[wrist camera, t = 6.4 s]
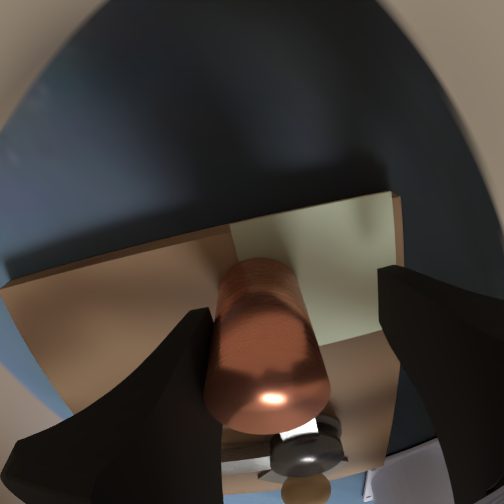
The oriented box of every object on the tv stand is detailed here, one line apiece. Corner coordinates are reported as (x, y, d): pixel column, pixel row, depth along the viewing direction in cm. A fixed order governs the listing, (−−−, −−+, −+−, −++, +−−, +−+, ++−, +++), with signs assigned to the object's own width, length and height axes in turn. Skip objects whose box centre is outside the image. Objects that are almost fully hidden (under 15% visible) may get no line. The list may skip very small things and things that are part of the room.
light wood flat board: (379, 454, 19) (395, 501, 14) (151, 482, 20) (142, 526, 16) (386, 184, 12) (453, 213, 7) (8, 275, 13) (-45, 319, 8)
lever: (340, 447, 16) (357, 517, 11) (230, 467, 16) (228, 536, 11) (303, 244, 11) (345, 330, 6) (125, 290, 11) (67, 380, 7)
